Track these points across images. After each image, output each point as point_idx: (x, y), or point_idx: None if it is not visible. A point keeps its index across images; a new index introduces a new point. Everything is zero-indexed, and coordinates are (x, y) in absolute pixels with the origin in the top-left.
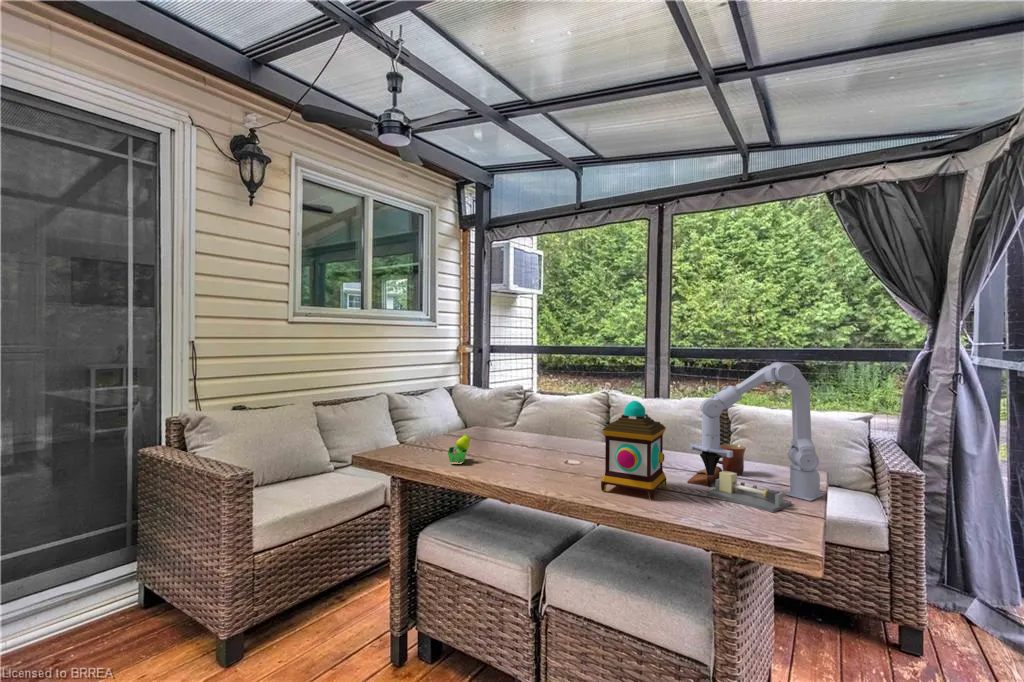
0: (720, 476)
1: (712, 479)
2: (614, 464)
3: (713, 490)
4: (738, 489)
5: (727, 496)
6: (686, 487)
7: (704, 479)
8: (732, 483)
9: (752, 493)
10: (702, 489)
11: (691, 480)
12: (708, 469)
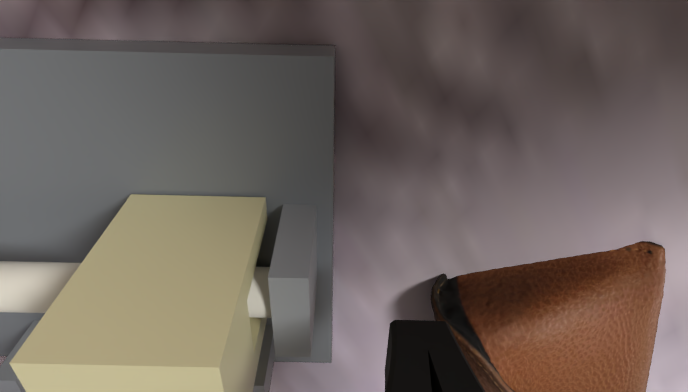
0: (216, 314)
1: None
2: None
3: (302, 148)
4: None
5: (64, 66)
6: (625, 102)
7: (506, 323)
8: None
9: None
10: (455, 171)
11: (632, 283)
12: (437, 388)
